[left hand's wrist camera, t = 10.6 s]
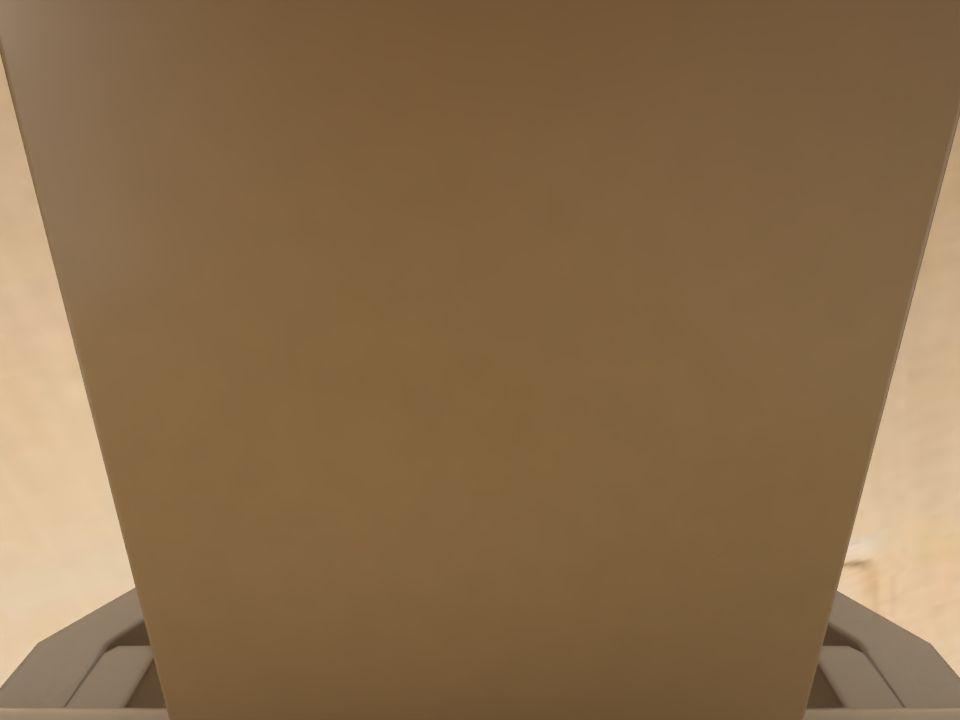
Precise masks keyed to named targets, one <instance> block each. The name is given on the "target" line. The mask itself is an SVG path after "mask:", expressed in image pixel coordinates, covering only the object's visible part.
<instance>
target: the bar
mask: <svg viewBox="0 0 960 720" xmlns="http://www.w3.org/2000/svg"><path fill="white" fill-rule="evenodd" d="M0 54H1V58H2V62H3V66H4V70H5V74H6V78H7V81H8V85H9V89H10V93H11V97H12V101H13V105H14V109H15V113H16V117H17V121H18V125H19V129H20V133H21V137H22V141H23V145H24V149H25V152H26V156H27V160H28V164H29V168H30V172H31V176H32V180H33V184H34V188H35V192H36V196H37V200H38V204H39V208H40V212H41V216H42V220H43V223H44V227H45V231H46V235H47V239H48V243H49V247H50V251H51V255H52V259H53V263H54V267H55V271H56V275H57V279H58V283H59V287H60V291H61V294H62V298H63V302H64V306H65V310H66V314H67V318H68V322H69V326H70V330H71V334H72V338H73V342H74V346H75V350H76V354H77V358H78V362H79V365H80V369H81V373H82V377H83V381H84V385H85V389H86V393H87V397H88V401H89V405H90V409H91V413H92V417H93V421H94V425H95V429H96V433H97V437H98V440H99V444H100V448H101V452H102V456H103V460H104V464H105V468H106V472H107V476H108V480H109V484H110V488H111V492H112V496H113V500H114V504H115V508H116V511H117V515H118V519H119V523H120V527H121V531H122V535H123V539H124V543H125V547H126V551H127V555H128V559H129V563H130V567H131V571H132V575H133V579H134V582H135V586H136V590H137V594H138V598H139V602H140V606H141V610H142V614H143V618H144V622H145V626H146V630H147V634H148V638H149V642H150V646H151V650H152V653H153V657H154V661H155V665H156V669H157V673H158V677H159V681H160V685H161V689H162V693H163V697H164V701H165V705H166V709H167V713H168V717H169V720H803V719H804V715H805V711H806V707H807V703H808V699H809V695H810V692H811V688H812V684H813V680H814V676H815V672H816V668H817V665H818V661H819V657H820V653H821V649H822V645H823V641H824V638H825V634H826V630H827V626H828V622H829V618H830V614H831V610H832V607H833V603H834V599H835V595H836V591H837V587H838V583H839V580H840V576H841V572H842V568H843V564H844V560H845V556H846V553H847V549H848V545H849V541H850V537H851V533H852V529H853V525H854V522H855V518H856V514H857V510H858V506H859V502H860V498H861V495H862V491H863V487H864V483H865V479H866V475H867V471H868V468H869V464H870V460H871V456H872V452H873V448H874V444H875V440H876V437H877V433H878V429H879V425H880V421H881V417H882V413H883V410H884V406H885V402H886V398H887V394H888V390H889V386H890V383H891V379H892V375H893V371H894V367H895V363H896V359H897V355H898V352H899V348H900V344H901V340H902V336H903V332H904V328H905V325H906V321H907V317H908V313H909V309H910V305H911V301H912V298H913V294H914V290H915V286H916V282H917V278H918V274H919V270H920V267H921V263H922V259H923V255H924V251H925V247H926V243H927V240H928V236H929V232H930V228H931V224H932V220H933V216H934V213H935V209H936V205H937V201H938V197H939V193H940V189H941V186H942V182H943V178H944V174H945V170H946V166H947V162H948V158H949V155H950V151H951V147H952V143H953V139H954V135H955V131H956V128H957V124H958V120H959V116H960V0H0Z"/></svg>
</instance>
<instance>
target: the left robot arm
mask: <svg viewBox="0 0 960 720" xmlns="http://www.w3.org/2000/svg"><path fill="white" fill-rule="evenodd" d="M0 720H169V717H168V713H167V709H166V705H165V701H164V697H163V693H162V689H161V685H160V681H159V677H158V673H157V669H156V665H155V661H154V657H153V653H152V650H151V646H150V642H149V638H148V634H147V630H146V626H145V622H144V618H143V614H142V610H141V606H140V602H139V598H138V594H137V590H136V588H134V589H132V590H130V591H129V592H127V593H125V594H123V595H122V596H120V597H118V598H116V599H115V600H113V601H111V602H109V603H108V604H106V605H104V606H102V607H101V608H99V609H97V610H95V611H94V612H92V613H90V614H88V615H87V616H85V617H83V618H81V619H80V620H78V621H76V622H74V623H73V624H71V625H69V626H67V627H65V628H64V629H62V630H60V631H58V632H57V633H55V634H53V635H51V636H50V637H48V638H46V639H44V640H43V641H41V642H39V643H38V644H37V645H36V646H35V647H34V649H33V650H32V651H31V652H30V653H29V655H28V656H27V657H26V658H25V659H24V660H23V662H22V663H21V664H20V665H19V666H18V668H17V669H16V670H15V671H14V672H13V673H12V675H11V676H10V677H9V678H8V679H7V681H6V682H5V683H4V684H3V685H2V687H1V688H0ZM803 720H960V678H959V677H958V675H957V674H956V673H955V672H954V671H953V669H952V668H951V667H950V666H949V665H948V664H947V662H946V661H945V660H944V659H943V658H942V657H941V655H940V654H939V653H938V652H937V651H936V650H935V648H934V647H933V646H932V645H931V644H930V643H928V642H926V641H925V640H923V639H921V638H919V637H917V636H916V635H914V634H912V633H910V632H909V631H907V630H905V629H903V628H902V627H900V626H898V625H896V624H895V623H893V622H891V621H889V620H887V619H886V618H884V617H882V616H880V615H879V614H877V613H875V612H873V611H872V610H870V609H868V608H866V607H865V606H863V605H861V604H859V603H857V602H856V601H854V600H852V599H850V598H849V597H847V596H845V595H843V594H842V593H840V592H838V591H836V595H835V599H834V603H833V607H832V610H831V614H830V618H829V622H828V626H827V630H826V634H825V638H824V641H823V645H822V649H821V653H820V657H819V661H818V665H817V668H816V672H815V676H814V680H813V684H812V688H811V692H810V695H809V699H808V703H807V707H806V711H805V715H804V719H803Z"/></svg>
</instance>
